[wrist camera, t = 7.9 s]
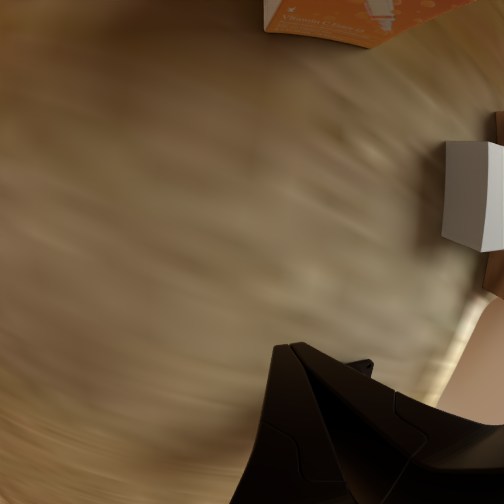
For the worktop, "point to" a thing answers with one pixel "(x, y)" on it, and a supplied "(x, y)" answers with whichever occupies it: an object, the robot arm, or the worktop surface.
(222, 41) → the worktop surface
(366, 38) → the small box
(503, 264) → the board
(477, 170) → the block
